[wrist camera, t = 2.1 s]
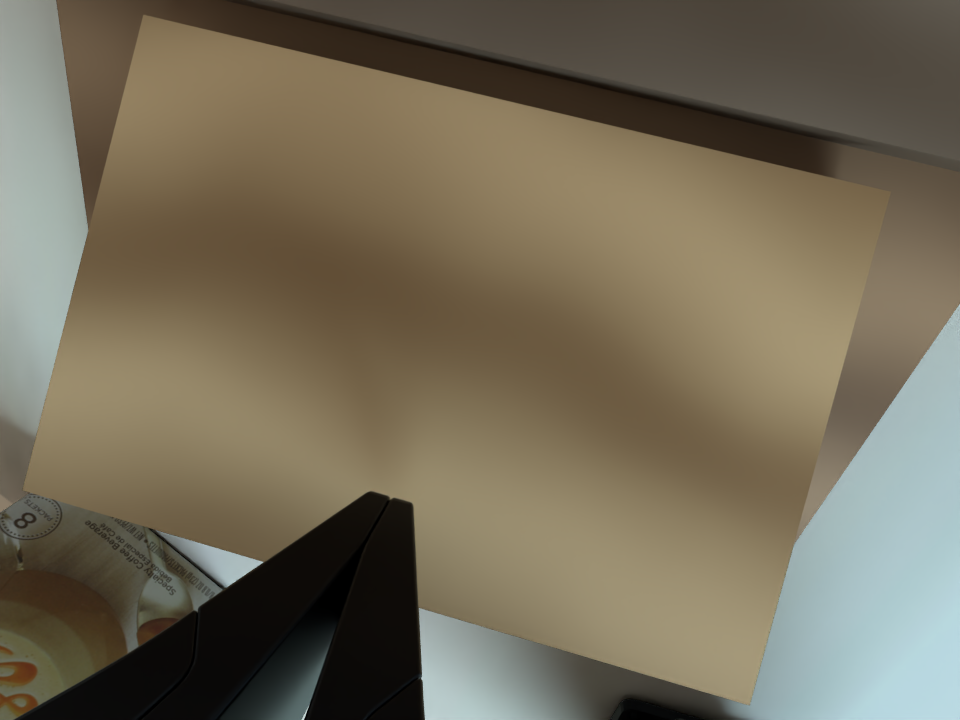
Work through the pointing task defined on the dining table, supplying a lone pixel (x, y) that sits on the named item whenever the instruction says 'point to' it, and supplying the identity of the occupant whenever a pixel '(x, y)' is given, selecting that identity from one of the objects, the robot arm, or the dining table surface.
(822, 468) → the floor board
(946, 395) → the dining table surface
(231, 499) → the tan rectangular panel
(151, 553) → the coffee box
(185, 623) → the robot arm
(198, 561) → the dining table surface
